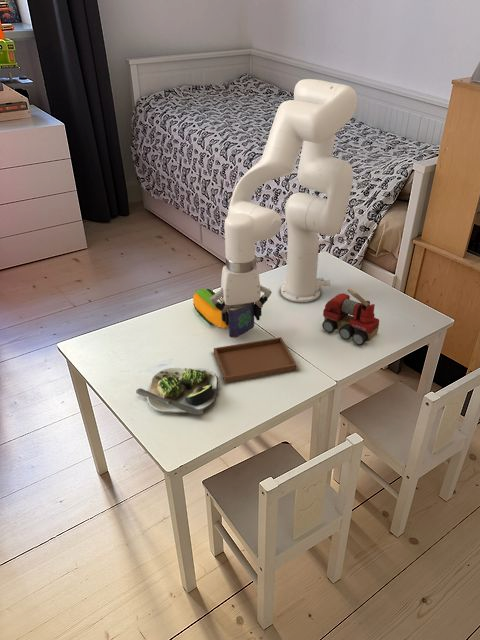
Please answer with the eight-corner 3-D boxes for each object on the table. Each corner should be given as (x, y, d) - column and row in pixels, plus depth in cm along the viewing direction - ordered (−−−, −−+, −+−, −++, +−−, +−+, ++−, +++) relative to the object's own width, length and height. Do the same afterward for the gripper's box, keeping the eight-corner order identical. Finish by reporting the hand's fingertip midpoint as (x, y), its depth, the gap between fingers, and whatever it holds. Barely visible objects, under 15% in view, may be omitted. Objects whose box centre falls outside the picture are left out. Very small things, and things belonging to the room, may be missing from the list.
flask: (250, 322, 156) (250, 290, 149) (257, 326, 154) (257, 294, 148) (226, 335, 151) (225, 302, 144) (234, 339, 149) (233, 306, 142)
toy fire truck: (335, 317, 162) (340, 263, 151) (380, 335, 155) (389, 281, 144) (313, 333, 155) (317, 278, 144) (359, 354, 148) (367, 298, 137)
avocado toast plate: (130, 419, 125) (127, 404, 123) (144, 371, 139) (142, 357, 136) (213, 420, 126) (212, 405, 123) (219, 372, 140) (218, 358, 137)
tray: (281, 342, 151) (281, 337, 150) (296, 370, 142) (296, 364, 141) (213, 353, 146) (213, 348, 145) (225, 383, 137) (224, 377, 136)
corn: (208, 278, 162) (239, 310, 149) (211, 300, 167) (241, 332, 154) (185, 286, 159) (214, 318, 146) (189, 307, 164) (217, 341, 151)
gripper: (268, 253, 144) (267, 309, 155) (204, 260, 139) (208, 317, 151) (276, 265, 139) (275, 323, 150) (210, 274, 134) (213, 332, 145)
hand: (241, 320), depth 150 cm, fingers closed on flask, 8 cm apart
